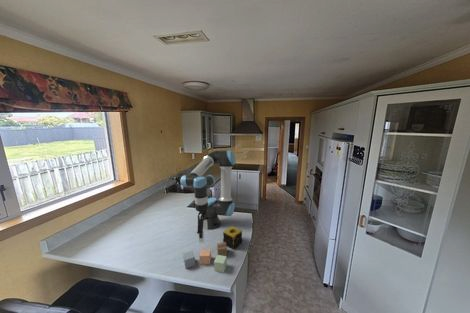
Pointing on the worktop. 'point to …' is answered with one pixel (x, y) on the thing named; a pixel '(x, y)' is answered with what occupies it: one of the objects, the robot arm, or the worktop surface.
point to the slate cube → (189, 259)
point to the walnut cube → (222, 249)
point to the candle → (232, 237)
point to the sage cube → (220, 263)
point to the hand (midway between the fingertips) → (203, 235)
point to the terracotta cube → (205, 256)
